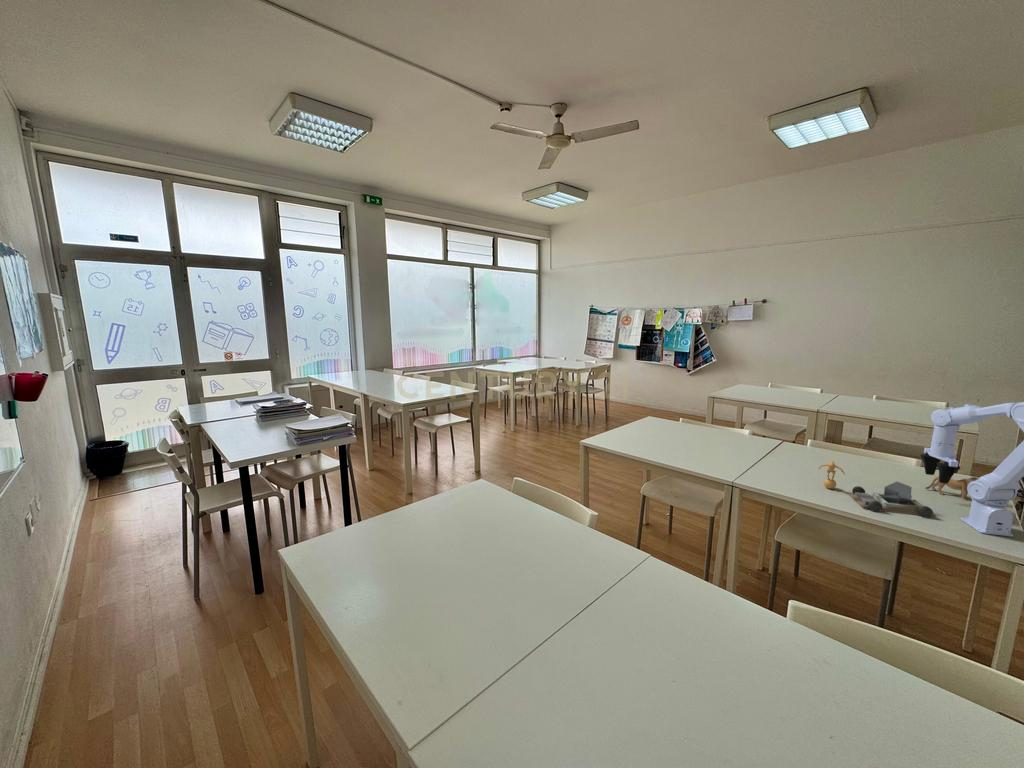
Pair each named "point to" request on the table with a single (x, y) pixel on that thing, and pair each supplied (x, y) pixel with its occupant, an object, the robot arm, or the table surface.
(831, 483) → the figurine
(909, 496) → the brushed grey box
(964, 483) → the lion figurine
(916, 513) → the toy car chassis
